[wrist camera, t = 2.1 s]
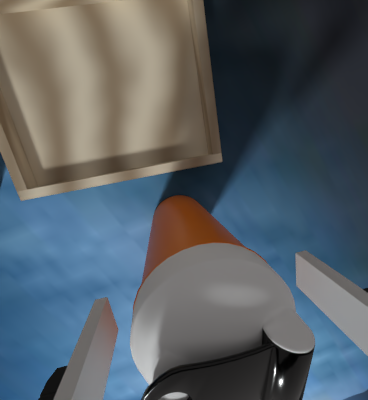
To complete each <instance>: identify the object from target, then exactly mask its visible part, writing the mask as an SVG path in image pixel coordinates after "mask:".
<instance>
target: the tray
mask: <svg viewBox="0 0 368 400" xmlns="http://www.w3.org/2000/svg"><path fill="white" fill-rule="evenodd" d="M0 152H1V154H2V157H3V159H4V162H5V164H6V166H7V169H8V171H9V174H10V176H11V178H12V181H13V183H14V185H15V188H16V190H17V193H18V195H19V197H20V200H21V201H22V200H28V199H33V198H38V197H43V196H48V195H53V194H59V193H64V192H69V191H74V190H79V189H84V188H90V187H95V186H100V185H105V184H110V183H115V182H121V181H126V180H131V179H136V178H141V177H147V176H152V175H157V174H162V173H167V172H172V171H178V170H183V169H188V168H193V167H198V166H203V165H209V164H214V163H219V162H222V154H221V145H220V137H219V128H218V120H217V112H216V103H215V95H214V87H213V78H212V70H211V61H210V53H209V45H208V36H207V28H206V20H205V11H204V3H203V0H0Z"/></svg>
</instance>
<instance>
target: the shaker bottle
mask: <svg viewBox="0 0 368 400" xmlns="http://www.w3.org/2000/svg"><path fill="white" fill-rule="evenodd" d="M130 347H131V353H132V358H133V360H134V362H135V364H136V366H137V368H138V370H139V371H140V373H141V374H142V375H143V377H144V378H145V380H146V381H147V382H148V384H149V386H148V387H147V389H146V390H145V392H144V394H143V396H142V398H141V400H302V398H303V394H304V390H305V386H306V381H307V377H308V373H309V369H310V364H311V360H312V356H313V352H314V347H315V338H314V335H313V333H312V331H311V329H310V328H309V327H308V326H307V325H306V324H305V322H304V321H303V320H302V319H301V318H300V317H299V315H298V314H297V313H296V309H295V302H294V298H293V296H292V294H291V291H290V289H289V287H288V286H287V285H286V283H285V282H284V281H283V279H282V278H281V277H280V276H279V275H278V274H277V273H276V272H275V271H274V270H273V269H272V268H271V267H270V266H269V265H268V263H267V262H266V261H265V260H264V259H263V258H262V257H261V256H259V255H258V254H257V253H256V252H254V251H252V250H250V249H248V248H246V247H245V246H244V245H243V244H242V243H240V242H239V241H238V240H237V239H236V238H235V237H234V236H233V235H232V234H231V233H230V232H229V231H228V230H227V229H226V228H225V227H224V226H222V225H221V224H220V223H219V222H218V221H217V220H216V219H215V218H214V217H213V216H212V215H211V214H210V213H209V212H208V211H207V210H206V209H205V208H203V207H202V206H201V205H200V204H199V203H198V202H197V201H196V200H194V199H193V198H191V197H188V196H184V195H176V196H172V197H169V198H167V199H165V200H164V201H163V202H161V203H160V204H159V206H158V207H157V208H156V210H155V213H154V216H153V221H152V227H151V233H150V238H149V244H148V250H147V256H146V261H145V267H144V273H143V279H142V284H141V286H140V288H139V289H138V292H137V295H136V298H135V301H134V305H133V318H132V326H131V336H130Z"/></svg>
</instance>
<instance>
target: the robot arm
mask: <svg viewBox="0 0 368 400" xmlns="http://www.w3.org/2000/svg"><path fill="white" fill-rule="evenodd" d="M296 286H297V287H298V288H299V289H300V290H301V291H302V292H303V293H304V294H305V295H306V296H308V297H309V298H310V299H311V300H312V301H313V302H314V303H315V304H316V305H317V306H318V307H319V308H320V309H321V310H322V311H323V312H324V313H325V314H326V315H327V316H328V317H329V318H330V319H331V320H332V321H333V322H334V323H335V324H336V325H337V326H338V327H339V328H340V329H341V330H342V331H343V332H344V333H345V334H346V335H347V336H348V337H349V338H350V339H351V340H352V341H353V342H354V343H355V344H356V345H357V346H358V347H359V348H360V349H361V350H362V351H363V352H364V353H365V354H366V355H367V356H368V288H366V289H361V288H360V287H358V286H357V285H355V284H354V283H353V282H351V281H350V280H348V279H347V278H345V277H344V276H342V275H341V274H339V273H338V272H336V271H335V270H334V269H332V268H331V267H329V266H328V265H326V264H325V263H323V262H322V261H320V260H319V259H318V258H316V257H315V256H313V255H312V254H310V253H309V252H307V251H301V252H297V253H296ZM117 333H118V327H117V325H116V322H115V319H114V316H113V313H112V310H111V307H110V304H109V301H108V298H107V297H105V298H101V299H97V300H95V302H94V304H93V307H92V309H91V311H90V314H89V316H88V318H87V321H86V323H85V326H84V328H83V330H82V333H81V335H80V337H79V340H78V342H77V345H76V347H75V349H74V352H73V354H72V357H71V359H70V361H69V364H68V366H64V367H60V368H57V369H56V370H55V372H54V373H53V374H52V376H51V377H50V378H49V379H48V381H47V383H46V385H45V387H44V389H43V391H42V393H41V395H40V398H39V399H38V400H103V396H104V392H105V387H106V383H107V378H108V374H109V369H110V365H111V360H112V356H113V351H114V347H115V342H116V338H117Z"/></svg>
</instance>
